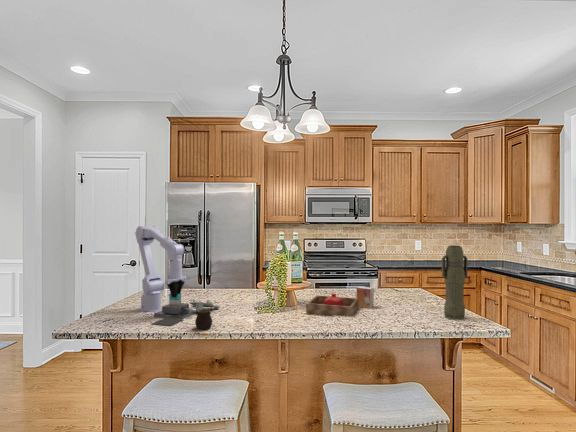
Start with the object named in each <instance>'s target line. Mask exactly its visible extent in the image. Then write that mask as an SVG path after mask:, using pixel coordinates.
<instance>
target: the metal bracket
mask: <svg viewBox="0 0 576 432" xmlns="http://www.w3.org/2000/svg"><path fill="white" fill-rule="evenodd" d="M188 304H189V305H190V307H191V308H195V309H197V311H198V310H200V309H204V308H211V307H212V306H213V307H212V308H214V309H219V308H221V305H214V304H213V302H212V301H211V300H209V299H206V302H202V301H201V300H199V301H198V300H195V299H193V300H192V301H191V302H188ZM212 308H211V309H212Z"/></svg>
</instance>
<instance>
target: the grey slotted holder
mask: <svg viewBox="0 0 576 432" xmlns="http://www.w3.org/2000/svg"><path fill="white" fill-rule="evenodd" d="M161 308H162V310H161V311H162V313H170V314H180V313H183V312H185V311H197V309H196V308H193V307H191V308H190V303H184V302H181V306H173V305H169V303H168V304H165V305H161Z"/></svg>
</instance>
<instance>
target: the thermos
mask: <svg viewBox="0 0 576 432" xmlns="http://www.w3.org/2000/svg"><path fill="white" fill-rule="evenodd" d="M468 261H469V260H468V257H467V256H466V255H465V254H464V249H463V247H462V246H460V245H456V244H455V245H452V244H451V245H449V246H447V248H446V250H445V255H443V256H442V258H441V277H442V278H444V284H445V302H444V306H443V310H444V311H443V314H444V318H446V319H448V320H455V321H459V320H460V321H461V320H464V319H465V316H466V306H465V304H464V303H465V302H464V301H465V299H464V295H465V294H464V293H465V292H464V289H465V287H464V286H465V283H466V282H465V281H466V279H467V278H468V274H469V273H468V263H469V262H468Z"/></svg>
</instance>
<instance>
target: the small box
mask: <svg viewBox="0 0 576 432" xmlns="http://www.w3.org/2000/svg"><path fill="white" fill-rule="evenodd" d="M374 291H375V287H371V286H370V287H369V286H357V287H356V295H355V296H356V297H355V298H359V308H362V309H372V308H373V307H374V301H375V299H374V295H375V294H374V293H375V292H374Z"/></svg>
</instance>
